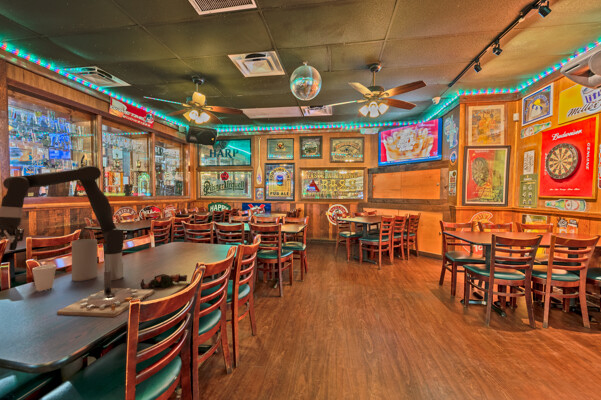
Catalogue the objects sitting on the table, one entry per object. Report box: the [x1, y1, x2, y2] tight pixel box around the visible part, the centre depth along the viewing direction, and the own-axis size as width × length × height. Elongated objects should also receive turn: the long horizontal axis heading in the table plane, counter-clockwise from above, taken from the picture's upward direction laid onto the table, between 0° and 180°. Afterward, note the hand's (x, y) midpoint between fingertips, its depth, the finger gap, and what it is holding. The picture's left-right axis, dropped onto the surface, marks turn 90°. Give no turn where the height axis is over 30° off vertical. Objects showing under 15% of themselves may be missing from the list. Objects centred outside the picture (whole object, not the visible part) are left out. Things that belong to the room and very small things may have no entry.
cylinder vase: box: [71, 238, 98, 282], centre depth 160 cm, size 12×12×25 cm
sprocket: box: [80, 271, 138, 310], centre depth 126 cm, size 24×24×12 cm
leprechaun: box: [139, 273, 188, 289], centre depth 150 cm, size 11×10×25 cm
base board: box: [56, 287, 155, 318], centre depth 126 cm, size 28×28×3 cm
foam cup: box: [31, 264, 57, 292], centre depth 142 cm, size 10×9×13 cm
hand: (3, 249), depth 117 cm, fingers open, 8 cm apart
